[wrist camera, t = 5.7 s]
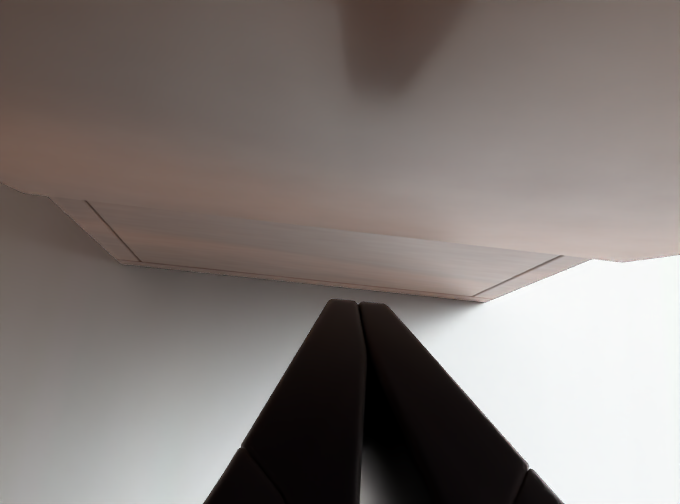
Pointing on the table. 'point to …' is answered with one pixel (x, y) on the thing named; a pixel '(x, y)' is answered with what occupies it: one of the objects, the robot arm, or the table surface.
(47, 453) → the table surface
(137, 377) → the table surface
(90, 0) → the lid
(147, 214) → the walnut box
